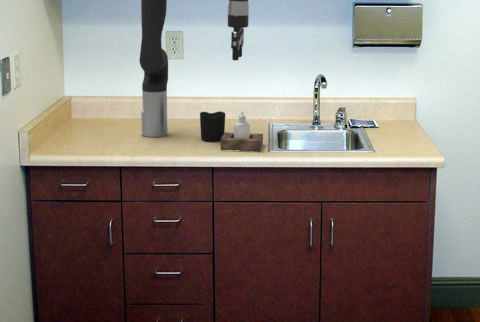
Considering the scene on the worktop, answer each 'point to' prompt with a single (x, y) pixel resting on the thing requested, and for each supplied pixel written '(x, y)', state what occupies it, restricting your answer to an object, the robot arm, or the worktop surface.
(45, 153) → the worktop surface
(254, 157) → the worktop surface
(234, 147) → the recessed rectangular tray
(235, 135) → the eye dropper bottle
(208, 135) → the pen holder
